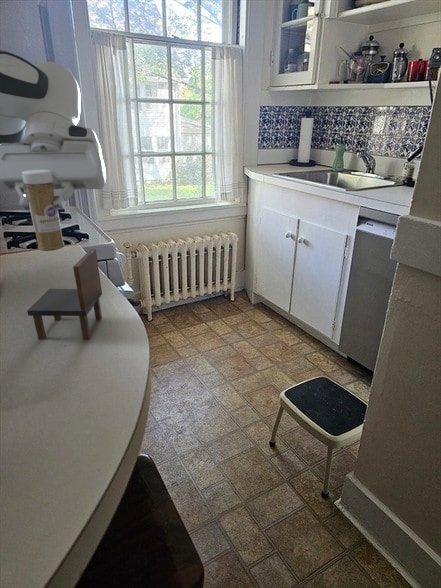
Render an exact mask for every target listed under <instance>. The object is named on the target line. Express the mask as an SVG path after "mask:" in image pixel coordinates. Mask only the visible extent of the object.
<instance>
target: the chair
mask: <svg viewBox="0 0 441 588" xmlns="http://www.w3.org/2000/svg"><path fill="white" fill-rule="evenodd" d="M72 268H73V273H74V279H75V285H76V288H49V289H48V290H47V291H45V292H44V293H43V294H42V295H41V297H39V298H38V299H37V300H36V301H35V302H34V303H33V304H32V305H31V306H30V307H29V308H28V309H27V310H26V313H27V316H29V317H30V316H32V318H33V321H34V327H35V331H36V335H37V339H38V340H45V338H46V337H47V334H46V330H45V325H44V321H43V317H53V319H54V321H61V319H62V317H78V318H79V323H80V330H81V335H82V340H84V341H87V340H88V341H90V339H91V332H90V326H89V321H88V314H89V313H90V312H91V311H92V309H93V311H94V317H95V321H98V322H99V321H102V319H103V314H102V307H101V301H100V298H101V296H102V295H103V289H102V284H101V276H100V270H99V262H98V255H97V249H96V248H91V249H89V250H88V252H86V253H85V254H84V255H83V256H82V257H81V258H80V259H79V260H78V261H77V262H76V263H75V264H74V265H73V266H72Z"/></svg>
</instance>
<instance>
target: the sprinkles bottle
mask: <svg viewBox="0 0 441 588" xmlns="http://www.w3.org/2000/svg"><path fill="white" fill-rule="evenodd" d="M22 177H23V182H24V183H25V187H26V191H27V194H26V196H28V200H29V208H30V210H29V212H30V216H31V220H32V225H33V231H34V233H35V237H36V241H37V249H38V250H39V251H43V252H51V251H57V250H60V249H63V248H64V247H65V242H64V239H63V233H62V226H61V219H60V214H59V209H55V207H54V206H53V201H54V199H53V198H54V196H56V195H55V190H54V189H53V183H52V182H53V178H52V173H51V171H50V170H28V171H24V172H22Z"/></svg>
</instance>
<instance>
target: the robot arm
mask: <svg viewBox="0 0 441 588" xmlns="http://www.w3.org/2000/svg"><path fill="white" fill-rule="evenodd" d="M80 116H81V91H80V86H79V83H78V81H77V79H76V77H75V76H74V74H73V73H72V71H70V69H68V68H67V67H66V66H64V65H62V64H60V63H57V62H55V61H44V62H40V63H39V62H38V63H37V62H30V61H29V60H26V59H25V58H23V57H21V56H19V55H16V54H14V53H12V52H8V51H6V50H1V49H0V192H11V191H12V192H13V191H14V192H17V194H18V197H19V202H18V203H19V204H18V205H19V207H20V209H21V210H22V211H30V208H29V200H28V195H27V191H26V187H25V183H24V182H23V177H22V172H24V171H28V170H50V171H51V173H52V178H53V182H52V183H53V189H54V191H60V193H59V194H58V195H55V196H54V198H53V199H54V201H53V206H54V207H55V209H57V210H65V209H66V203H67V201H69V199H70V198H71V197H72V196H73V195H74V190H101V189H103V188H104V187H105V186H106V184H107V172H106V165H105V162H104V159H103V153H102V148H101V144H100V142H99V139H98V137H97V135H96V133H95V130H94V129H92V128H89V127H85V126H81V125H78V123H79V121H80Z"/></svg>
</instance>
